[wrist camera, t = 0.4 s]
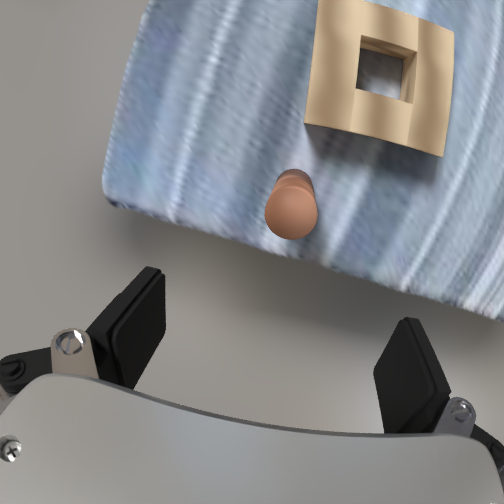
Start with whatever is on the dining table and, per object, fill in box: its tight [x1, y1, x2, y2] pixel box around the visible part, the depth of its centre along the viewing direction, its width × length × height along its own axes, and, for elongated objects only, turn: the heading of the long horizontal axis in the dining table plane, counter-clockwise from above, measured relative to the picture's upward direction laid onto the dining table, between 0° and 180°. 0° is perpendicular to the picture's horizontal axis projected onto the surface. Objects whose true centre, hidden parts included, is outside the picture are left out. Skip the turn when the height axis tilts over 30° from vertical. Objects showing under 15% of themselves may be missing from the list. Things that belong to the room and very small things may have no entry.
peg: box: [265, 169, 317, 240], centre depth 30 cm, size 4×4×12 cm
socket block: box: [304, 0, 454, 157], centre depth 26 cm, size 16×16×5 cm
